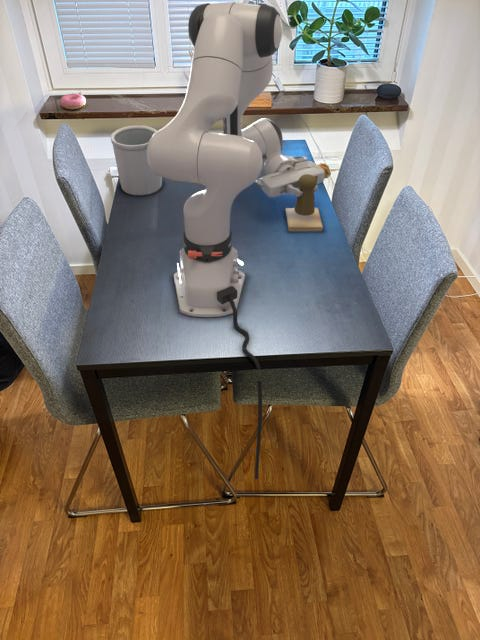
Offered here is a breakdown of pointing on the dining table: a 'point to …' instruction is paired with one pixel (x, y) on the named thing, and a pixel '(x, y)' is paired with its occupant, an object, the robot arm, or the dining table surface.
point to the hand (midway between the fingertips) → (308, 191)
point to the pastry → (325, 169)
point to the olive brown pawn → (306, 195)
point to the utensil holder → (135, 160)
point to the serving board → (303, 221)
